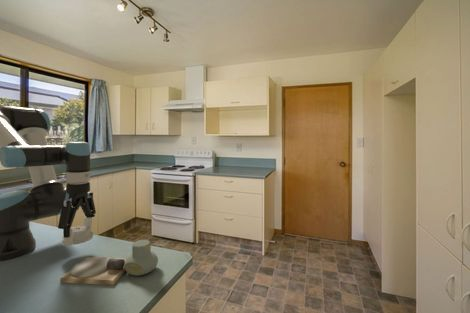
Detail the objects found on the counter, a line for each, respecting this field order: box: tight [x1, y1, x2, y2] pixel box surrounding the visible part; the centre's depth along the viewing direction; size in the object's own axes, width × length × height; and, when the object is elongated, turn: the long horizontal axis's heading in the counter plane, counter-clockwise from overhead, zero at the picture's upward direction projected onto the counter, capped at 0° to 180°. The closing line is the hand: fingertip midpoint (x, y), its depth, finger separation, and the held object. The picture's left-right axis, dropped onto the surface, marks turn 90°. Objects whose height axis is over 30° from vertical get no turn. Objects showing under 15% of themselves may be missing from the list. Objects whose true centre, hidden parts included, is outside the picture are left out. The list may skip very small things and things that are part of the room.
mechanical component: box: [61, 224, 94, 246], centre depth 89 cm, size 10×4×10 cm
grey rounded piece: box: [124, 239, 159, 277], centre depth 80 cm, size 11×8×10 cm
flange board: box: [59, 256, 127, 286], centre depth 78 cm, size 17×13×5 cm
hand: (78, 238), depth 89 cm, fingers closed on mechanical component, 10 cm apart
